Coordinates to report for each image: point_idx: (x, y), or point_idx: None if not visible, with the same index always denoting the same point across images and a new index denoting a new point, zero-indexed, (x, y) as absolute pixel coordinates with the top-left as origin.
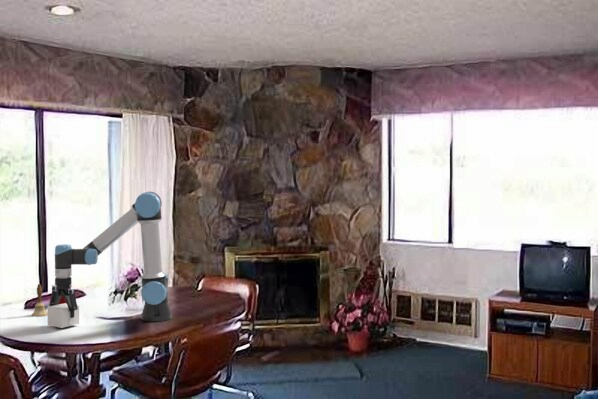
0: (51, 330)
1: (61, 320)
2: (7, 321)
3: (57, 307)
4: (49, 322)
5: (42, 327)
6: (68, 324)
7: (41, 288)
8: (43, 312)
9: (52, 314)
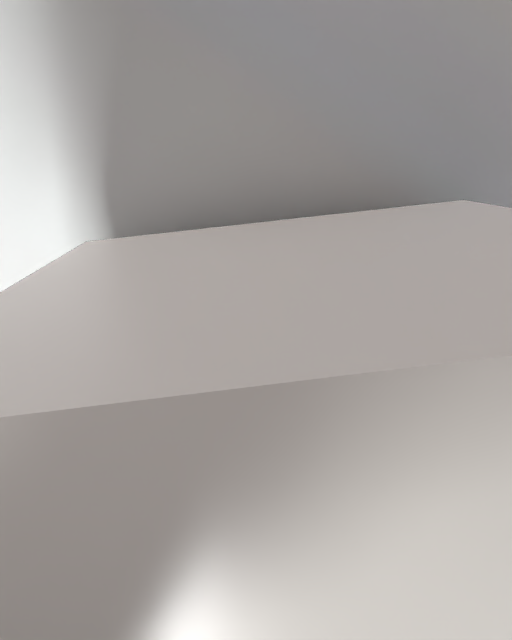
0: (195, 102)
1: (36, 274)
2: None
3: (387, 529)
4: (434, 210)
5: (502, 129)
6: None
7: None
8: None
9: (413, 256)
